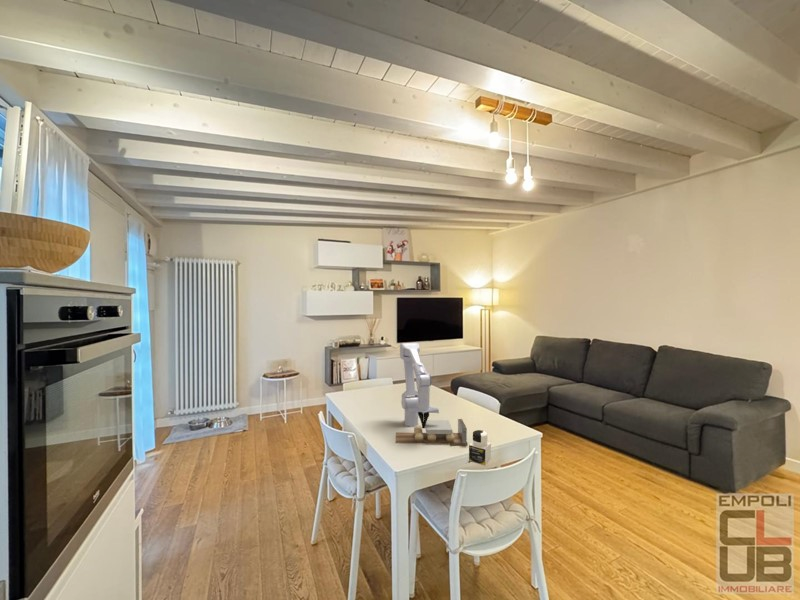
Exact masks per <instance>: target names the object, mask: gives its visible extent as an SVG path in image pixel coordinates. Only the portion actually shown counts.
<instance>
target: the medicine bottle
mask: <svg viewBox="0 0 800 600" xmlns="http://www.w3.org/2000/svg"><path fill="white" fill-rule="evenodd" d="M491 454H492V443H491V442H489V441H488V433H487V432H486V431H485V430H480V429H476V430H473V432H472V441H471V442H470V443H469V444H468V461H469V462H470V463H475V464H477V465H481V466H487V464H488V463H489V462H490V461H491V459H492V455H491Z"/></svg>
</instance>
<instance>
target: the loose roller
mask: <svg viewBox="0 0 800 600" xmlns="http://www.w3.org/2000/svg"><path fill="white" fill-rule="evenodd" d="M453 433H454V432H453V431H452V434H445V437H446V440H447V441H448V442H450V443H451V442H453V441H454V440H455V437H454V434H453Z"/></svg>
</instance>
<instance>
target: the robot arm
mask: <svg viewBox="0 0 800 600" xmlns="http://www.w3.org/2000/svg"><path fill="white" fill-rule="evenodd" d="M420 347H421V346H420V344H419V343H418V342H405V343H404V342H402V343H400V345H399V356H400V359H401V360H403V364H404V365H403V367H404V368H403V369H404V378H405V379H404V380H405V391H404V392H403V393H402V394H401V400H400V401H401V402H400V403H401V407H402V409H403V410H404V425H405V426H407V427H415V426H419V420H420V423H421V427H422V429H426V428H425V425H426V421H427V420H429V417H430V414H440V411H439V410H440V408H438V407H432V406H431V407H430V402H431V401H430V398H431V397H430V395H431V393H430V391H431V389H430V387H431V386H432V380H433V379H432V376H431V374H430V373H429V372H427V370H426V366H425V364H424V363H423V362H421V359H420V351H421V349H420ZM415 377H416V378H415Z"/></svg>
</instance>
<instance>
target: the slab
mask: <svg viewBox="0 0 800 600" xmlns="http://www.w3.org/2000/svg"><path fill="white" fill-rule="evenodd" d="M424 429H425V433H426V434H452V432H453V427H452V425H451V422H450V420H448V419H447V420H443V419H440V420H439V419H433V420H432V419H430V420H429V419H427V421H426V425H425V428H424Z"/></svg>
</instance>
